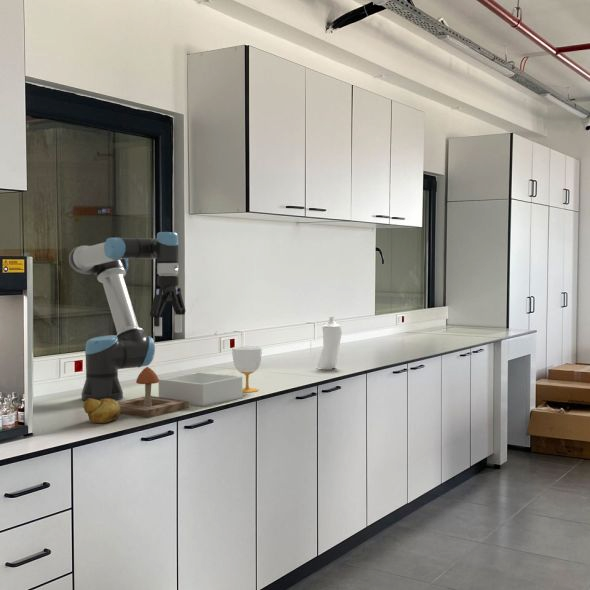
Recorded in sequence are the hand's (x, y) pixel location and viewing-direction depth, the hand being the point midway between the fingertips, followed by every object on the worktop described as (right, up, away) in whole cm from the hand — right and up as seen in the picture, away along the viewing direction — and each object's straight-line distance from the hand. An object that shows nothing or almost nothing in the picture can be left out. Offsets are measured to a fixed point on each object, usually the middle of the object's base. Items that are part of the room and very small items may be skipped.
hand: (168, 334), depth 272 cm
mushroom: (-5, -26, -10) cm, 28 cm away
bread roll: (-16, -27, -27) cm, 41 cm away
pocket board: (-5, -26, -10) cm, 28 cm away
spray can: (+62, -22, +93) cm, 114 cm away
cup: (+27, -24, +29) cm, 46 cm away
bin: (+10, -25, +10) cm, 29 cm away
